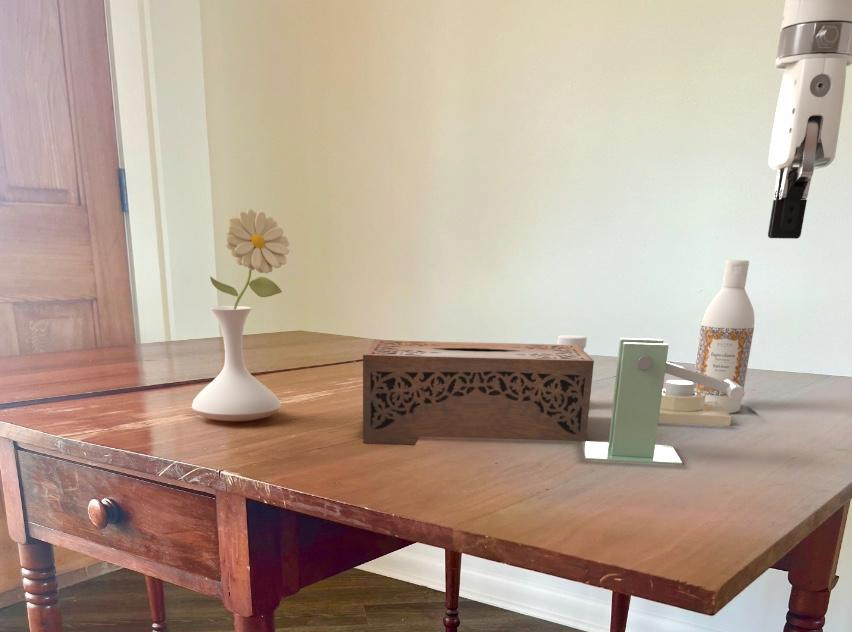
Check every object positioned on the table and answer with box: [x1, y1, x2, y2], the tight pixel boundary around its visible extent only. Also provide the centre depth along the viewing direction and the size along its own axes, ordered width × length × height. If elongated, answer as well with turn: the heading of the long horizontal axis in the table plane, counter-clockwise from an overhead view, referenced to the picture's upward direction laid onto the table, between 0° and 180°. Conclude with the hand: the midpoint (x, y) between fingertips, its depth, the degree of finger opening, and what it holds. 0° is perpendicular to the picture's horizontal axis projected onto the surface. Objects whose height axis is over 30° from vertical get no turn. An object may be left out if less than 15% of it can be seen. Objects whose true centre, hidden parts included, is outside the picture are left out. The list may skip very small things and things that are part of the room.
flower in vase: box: [191, 208, 290, 422], centre depth 108 cm, size 13×11×25 cm
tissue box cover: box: [362, 339, 595, 446], centre depth 105 cm, size 26×14×10 cm, turn 86°
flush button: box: [664, 379, 695, 396], centre depth 113 cm, size 4×4×2 cm
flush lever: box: [665, 361, 746, 401], centre depth 90 cm, size 12×5×2 cm, turn 82°
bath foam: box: [693, 259, 755, 415], centre depth 120 cm, size 7×7×20 cm
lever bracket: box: [581, 337, 684, 466], centre depth 92 cm, size 10×8×13 cm
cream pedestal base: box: [658, 388, 733, 427], centre depth 114 cm, size 12×10×4 cm
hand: (783, 237), depth 98 cm, fingers closed
